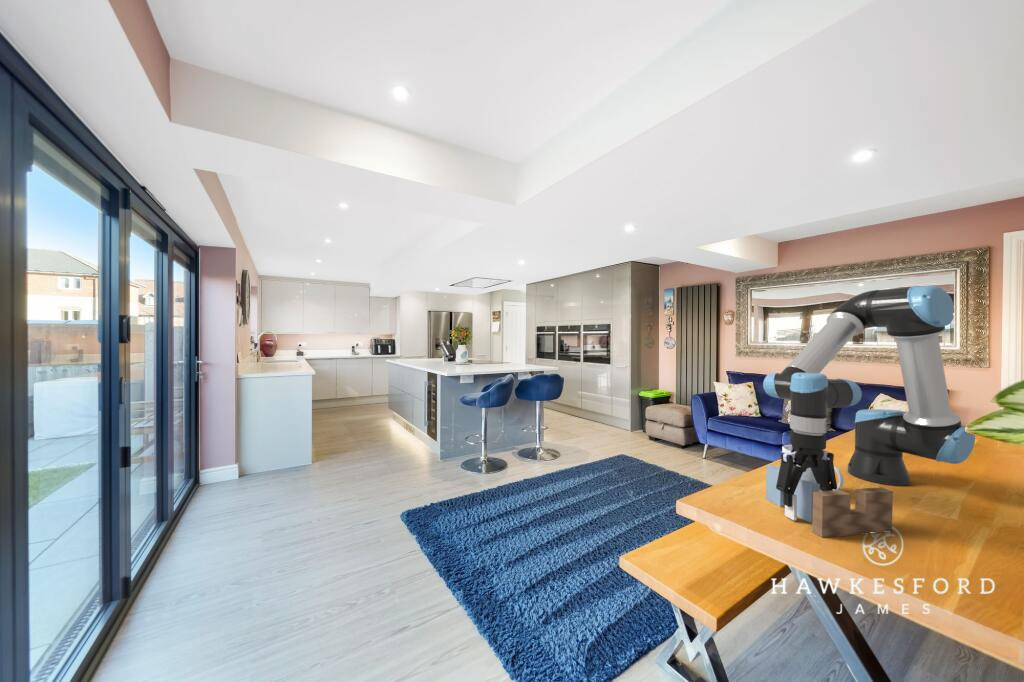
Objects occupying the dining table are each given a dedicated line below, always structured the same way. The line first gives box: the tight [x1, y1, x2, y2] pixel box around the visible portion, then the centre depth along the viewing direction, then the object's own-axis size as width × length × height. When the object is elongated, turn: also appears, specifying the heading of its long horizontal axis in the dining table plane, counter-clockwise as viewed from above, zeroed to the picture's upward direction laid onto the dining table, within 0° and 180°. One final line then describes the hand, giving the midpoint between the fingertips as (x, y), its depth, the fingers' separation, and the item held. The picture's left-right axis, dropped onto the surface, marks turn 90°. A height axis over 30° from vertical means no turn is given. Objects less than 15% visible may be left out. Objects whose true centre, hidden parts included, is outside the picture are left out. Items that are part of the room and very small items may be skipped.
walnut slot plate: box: [811, 486, 894, 538], centre depth 91 cm, size 20×2×10 cm, turn 98°
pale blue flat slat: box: [765, 464, 820, 524], centre depth 102 cm, size 14×2×10 cm, turn 8°
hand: (806, 516), depth 98 cm, fingers open, 9 cm apart
